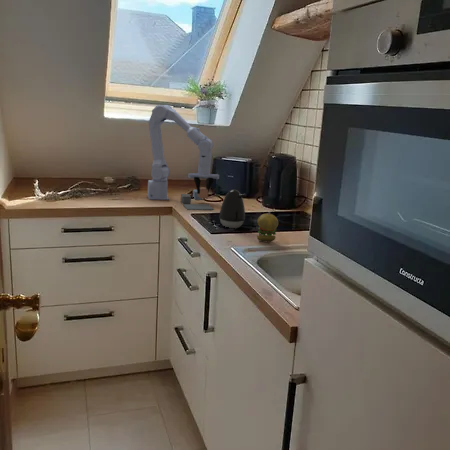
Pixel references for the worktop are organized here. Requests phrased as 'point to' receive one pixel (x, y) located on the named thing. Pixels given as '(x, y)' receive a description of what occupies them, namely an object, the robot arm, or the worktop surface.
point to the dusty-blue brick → (196, 195)
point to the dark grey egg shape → (232, 210)
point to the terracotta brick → (203, 193)
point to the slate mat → (197, 206)
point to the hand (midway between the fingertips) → (202, 193)
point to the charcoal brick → (185, 199)
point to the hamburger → (267, 227)
